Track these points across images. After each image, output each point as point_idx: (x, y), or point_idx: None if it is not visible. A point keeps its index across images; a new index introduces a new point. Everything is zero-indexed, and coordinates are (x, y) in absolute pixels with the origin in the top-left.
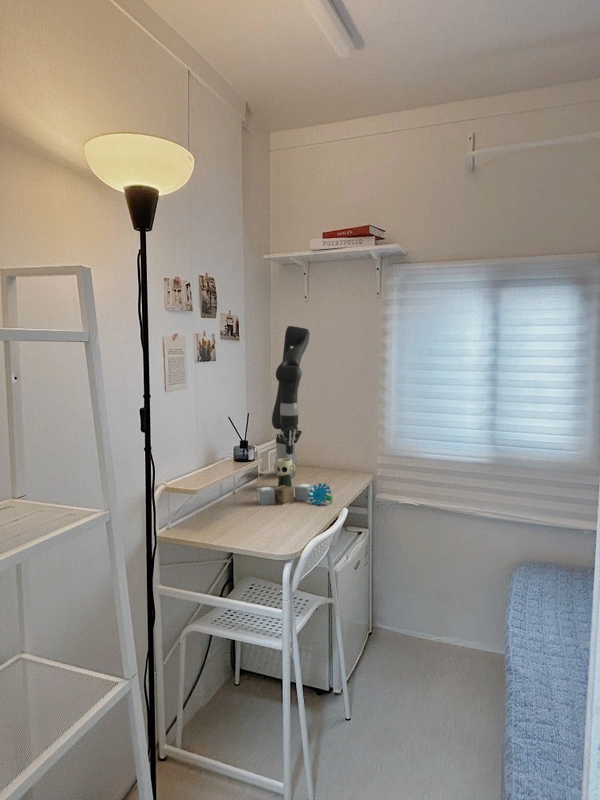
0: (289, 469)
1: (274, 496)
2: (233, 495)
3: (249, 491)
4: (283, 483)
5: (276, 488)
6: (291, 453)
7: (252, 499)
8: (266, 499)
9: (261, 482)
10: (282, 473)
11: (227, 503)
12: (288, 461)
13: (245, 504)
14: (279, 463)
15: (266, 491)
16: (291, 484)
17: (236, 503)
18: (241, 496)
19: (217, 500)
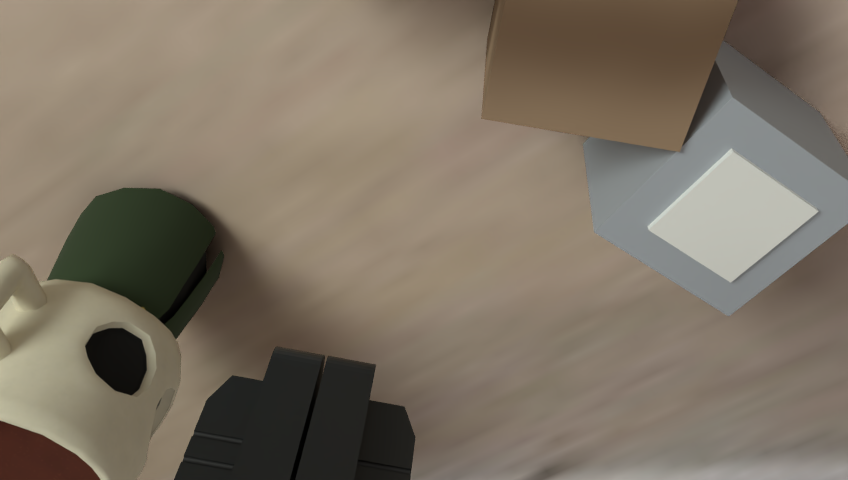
0: (60, 320)
1: (719, 59)
2: (603, 452)
3: (440, 415)
4: (189, 258)
5: (677, 105)
6: (323, 360)
7: (649, 286)
8: (792, 106)
9: (174, 457)
10: (163, 340)
11: (844, 388)
12: (13, 413)
13: (831, 257)
14: (129, 468)
15: (819, 157)
16: (96, 206)
17: (822, 333)
18: (602, 397)
19: (782, 476)
